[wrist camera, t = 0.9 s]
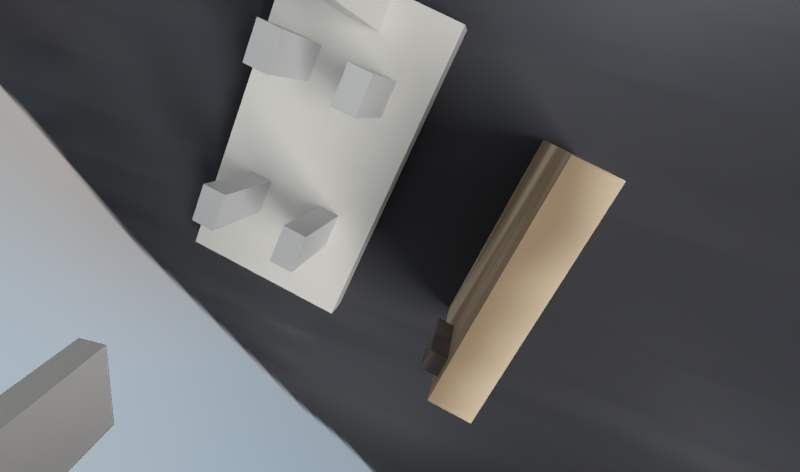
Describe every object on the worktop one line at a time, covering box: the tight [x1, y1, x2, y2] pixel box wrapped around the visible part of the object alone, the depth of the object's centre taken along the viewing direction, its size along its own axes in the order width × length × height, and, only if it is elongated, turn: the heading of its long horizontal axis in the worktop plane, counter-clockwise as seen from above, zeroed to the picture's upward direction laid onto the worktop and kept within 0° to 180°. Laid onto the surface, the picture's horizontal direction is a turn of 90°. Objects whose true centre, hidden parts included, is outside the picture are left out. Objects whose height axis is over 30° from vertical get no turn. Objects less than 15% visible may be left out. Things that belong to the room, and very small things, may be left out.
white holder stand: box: [192, 0, 467, 314], centre depth 27 cm, size 12×22×14 cm, turn 155°
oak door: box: [421, 140, 626, 423], centre depth 27 cm, size 4×14×12 cm, turn 154°
